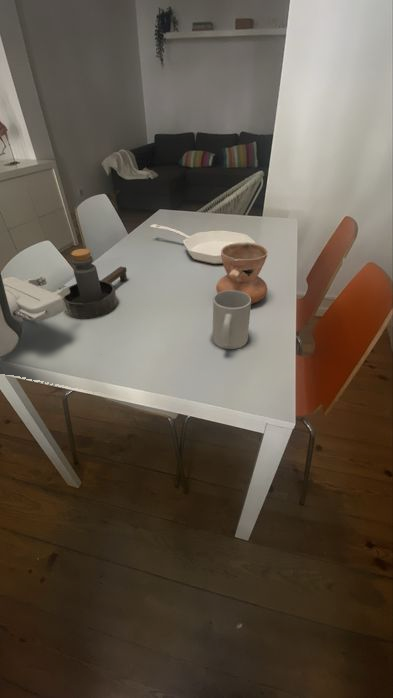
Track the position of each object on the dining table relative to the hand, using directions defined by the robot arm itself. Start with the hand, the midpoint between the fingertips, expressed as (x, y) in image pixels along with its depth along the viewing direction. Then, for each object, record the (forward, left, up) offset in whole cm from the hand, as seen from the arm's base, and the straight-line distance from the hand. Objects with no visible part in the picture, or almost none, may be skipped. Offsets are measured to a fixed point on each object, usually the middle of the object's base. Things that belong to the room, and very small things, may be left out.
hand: (55, 284), depth 79 cm
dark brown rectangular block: (+2, +21, -10) cm, 23 cm away
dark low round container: (+2, +8, -10) cm, 13 cm away
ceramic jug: (+41, +27, -10) cm, 50 cm away
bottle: (+3, +9, -10) cm, 13 cm away
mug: (+44, +4, -10) cm, 46 cm away
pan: (+15, +59, -10) cm, 62 cm away
